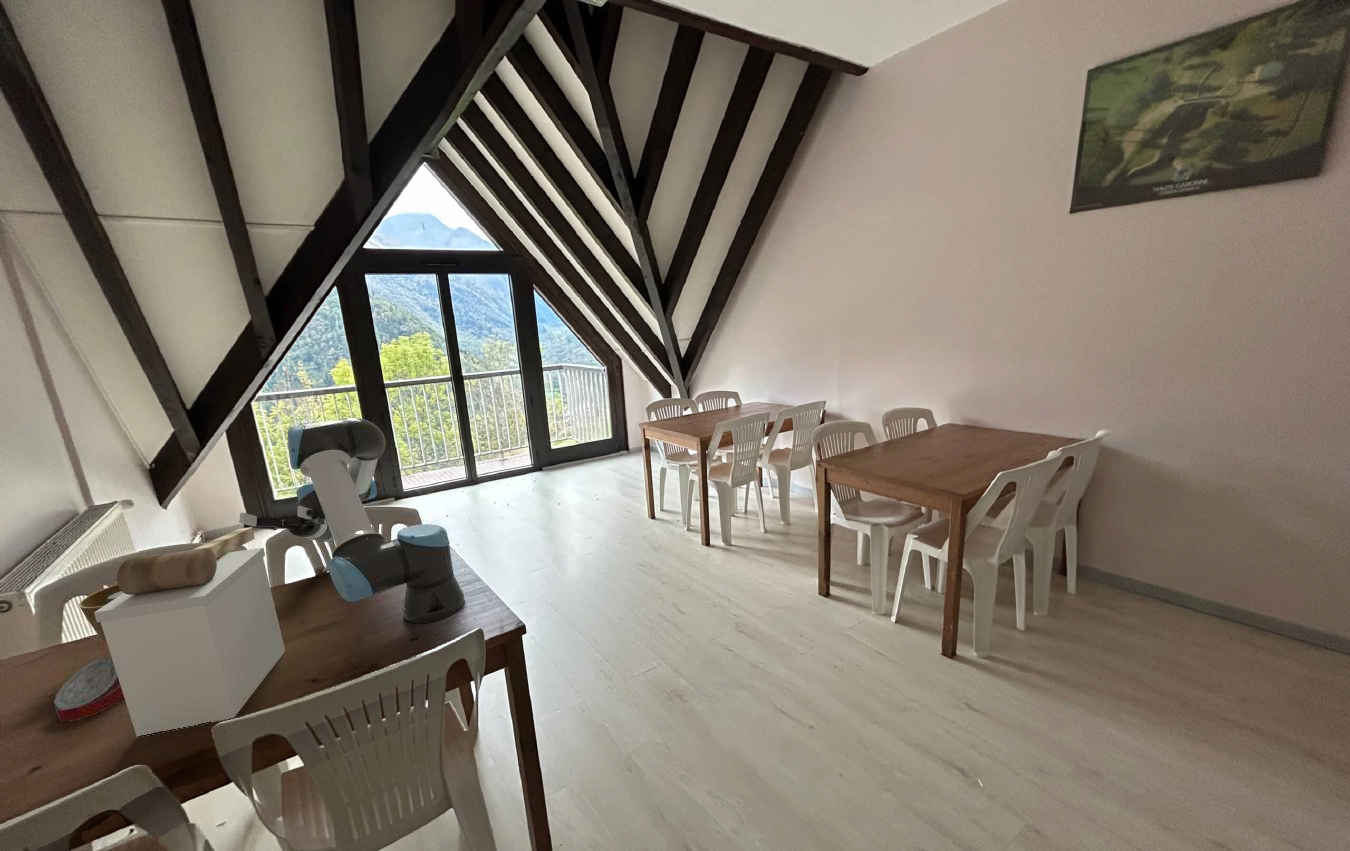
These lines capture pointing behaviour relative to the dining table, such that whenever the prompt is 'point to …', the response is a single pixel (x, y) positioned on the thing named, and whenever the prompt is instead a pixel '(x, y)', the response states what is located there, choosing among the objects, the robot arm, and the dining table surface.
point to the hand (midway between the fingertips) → (270, 514)
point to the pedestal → (194, 645)
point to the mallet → (178, 565)
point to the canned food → (89, 690)
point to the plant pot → (97, 607)
